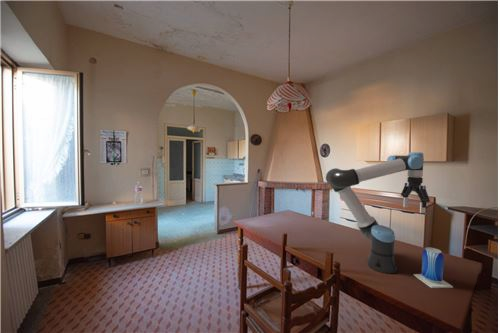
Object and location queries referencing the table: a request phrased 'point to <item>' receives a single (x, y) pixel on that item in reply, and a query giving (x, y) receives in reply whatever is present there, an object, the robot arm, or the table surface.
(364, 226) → the robot arm
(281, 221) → the table surface
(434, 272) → the beer can
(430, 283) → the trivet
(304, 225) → the table surface
